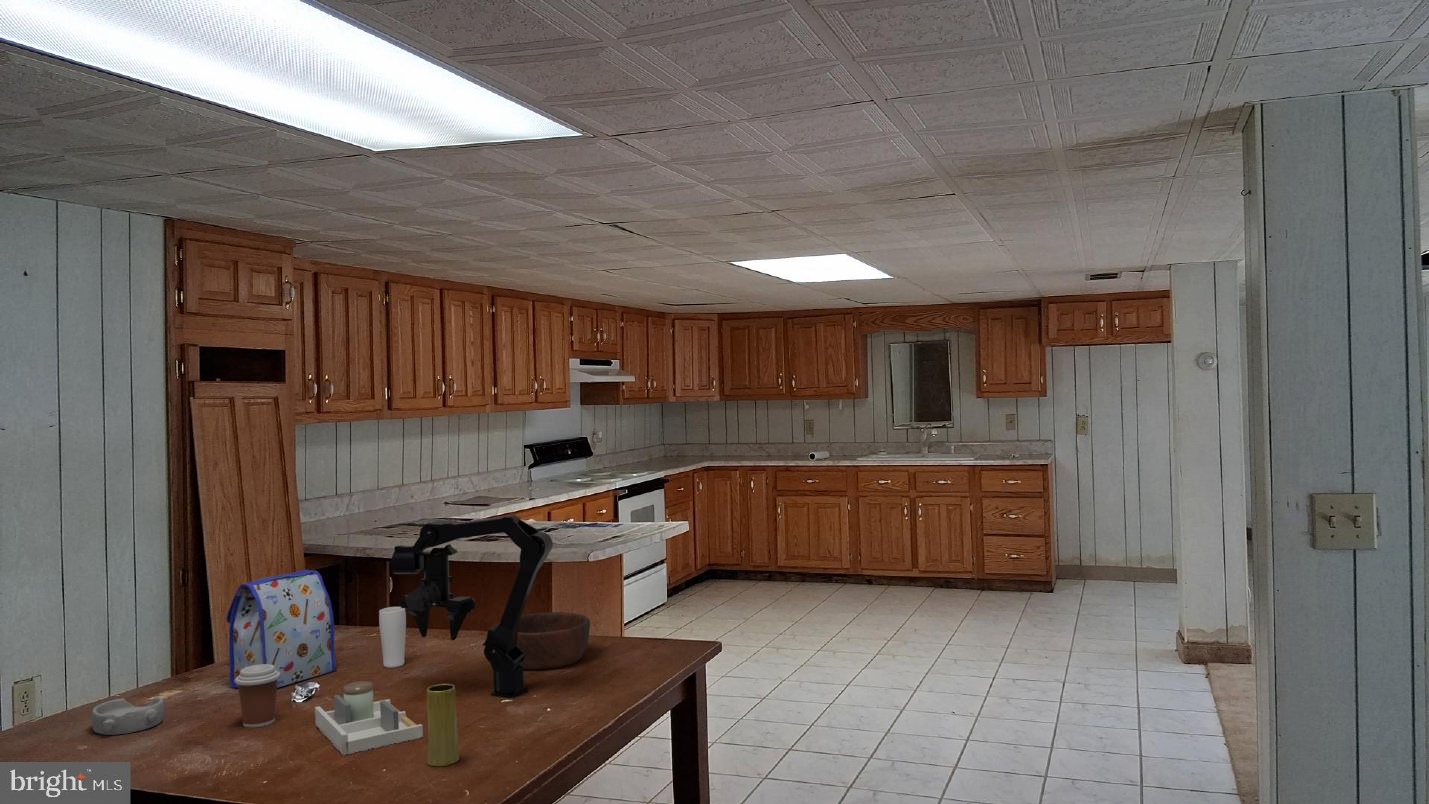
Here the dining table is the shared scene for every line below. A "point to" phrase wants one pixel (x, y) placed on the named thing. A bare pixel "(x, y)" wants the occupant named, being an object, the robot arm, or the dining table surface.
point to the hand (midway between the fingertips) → (438, 638)
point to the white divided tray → (368, 729)
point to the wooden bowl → (552, 639)
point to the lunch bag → (282, 627)
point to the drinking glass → (393, 635)
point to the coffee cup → (258, 694)
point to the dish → (126, 716)
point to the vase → (442, 725)
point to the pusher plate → (341, 710)
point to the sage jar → (360, 700)
